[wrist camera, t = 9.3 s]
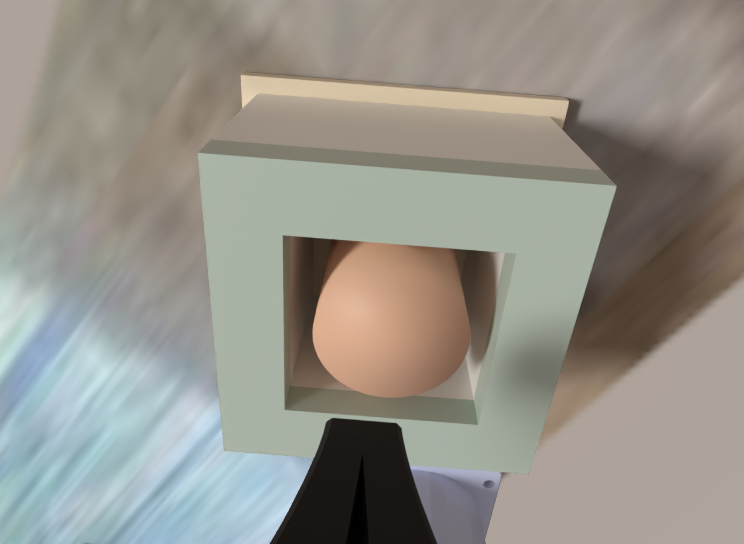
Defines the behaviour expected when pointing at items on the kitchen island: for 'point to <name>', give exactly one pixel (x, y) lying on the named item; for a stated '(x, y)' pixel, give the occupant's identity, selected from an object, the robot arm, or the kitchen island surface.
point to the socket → (406, 227)
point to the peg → (391, 317)
